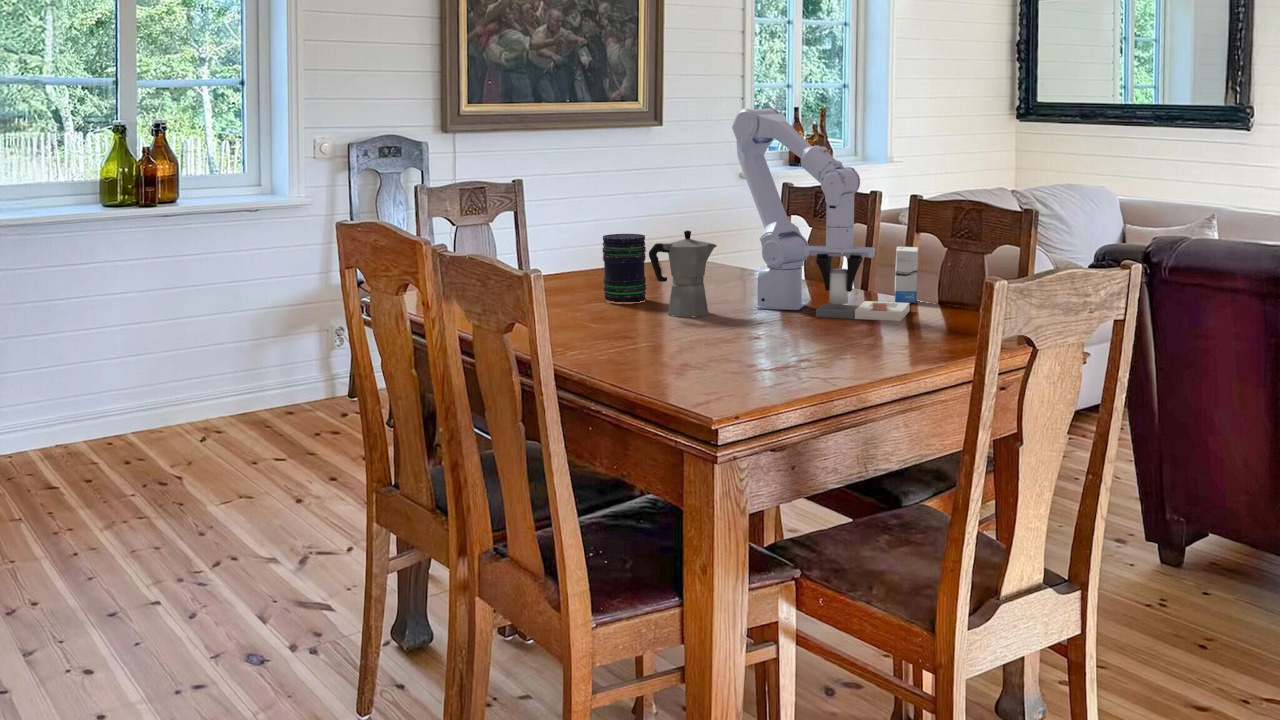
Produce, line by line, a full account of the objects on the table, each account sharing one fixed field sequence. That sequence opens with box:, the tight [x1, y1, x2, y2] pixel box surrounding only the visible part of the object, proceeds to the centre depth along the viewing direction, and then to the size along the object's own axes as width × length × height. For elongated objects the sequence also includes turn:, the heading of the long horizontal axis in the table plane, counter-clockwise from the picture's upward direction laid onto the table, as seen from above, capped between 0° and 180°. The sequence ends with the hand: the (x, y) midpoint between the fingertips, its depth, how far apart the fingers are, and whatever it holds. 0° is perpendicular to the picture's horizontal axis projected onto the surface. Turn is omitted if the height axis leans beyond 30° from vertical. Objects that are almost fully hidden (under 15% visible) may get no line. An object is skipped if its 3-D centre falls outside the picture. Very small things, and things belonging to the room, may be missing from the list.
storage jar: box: [602, 233, 647, 302], centre depth 291 cm, size 10×10×15 cm
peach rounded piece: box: [873, 303, 887, 311], centre depth 266 cm, size 3×3×3 cm
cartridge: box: [828, 268, 849, 305], centre depth 270 cm, size 4×4×7 cm
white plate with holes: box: [854, 300, 911, 322], centre depth 270 cm, size 10×12×2 cm
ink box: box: [894, 246, 919, 304], centre depth 286 cm, size 8×5×12 cm, turn 168°
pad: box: [815, 303, 861, 320], centre depth 271 cm, size 8×8×2 cm
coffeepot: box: [648, 230, 718, 318], centre depth 272 cm, size 15×9×18 cm, turn 110°
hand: (838, 290), depth 270 cm, fingers closed on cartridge, 4 cm apart
